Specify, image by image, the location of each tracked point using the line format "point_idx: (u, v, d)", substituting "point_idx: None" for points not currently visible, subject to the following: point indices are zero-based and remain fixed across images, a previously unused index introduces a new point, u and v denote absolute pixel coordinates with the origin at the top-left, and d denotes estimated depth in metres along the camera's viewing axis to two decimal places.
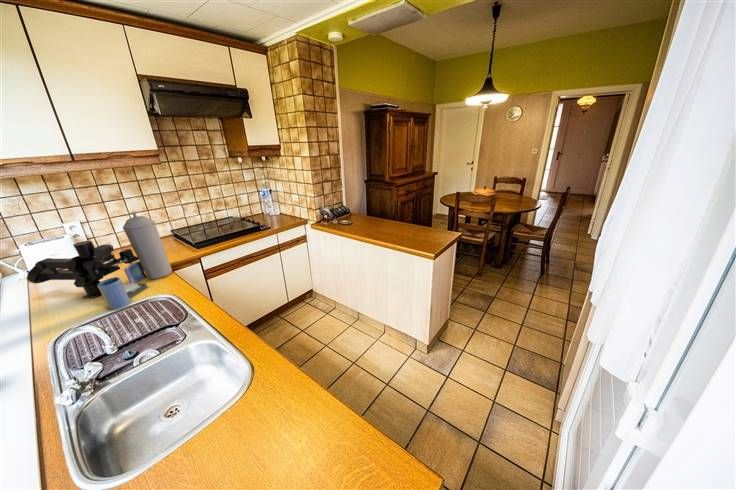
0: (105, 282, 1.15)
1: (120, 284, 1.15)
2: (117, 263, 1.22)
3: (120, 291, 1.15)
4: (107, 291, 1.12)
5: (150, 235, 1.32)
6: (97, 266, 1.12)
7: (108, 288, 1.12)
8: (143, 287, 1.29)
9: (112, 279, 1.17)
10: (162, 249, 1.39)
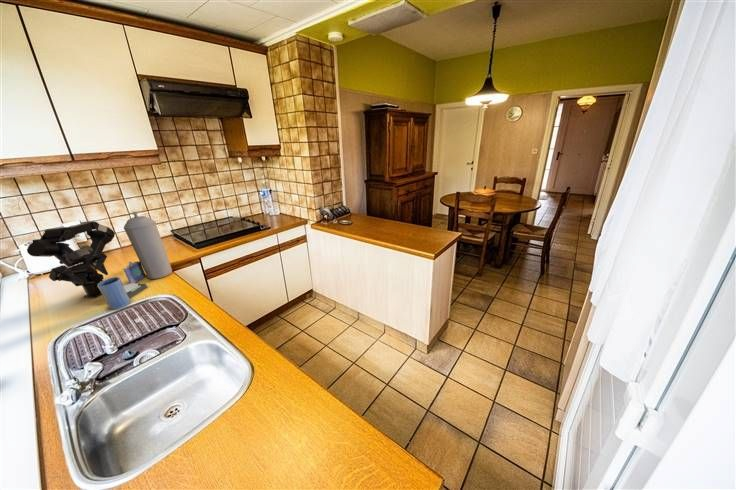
0: (105, 282, 1.15)
1: (120, 284, 1.15)
2: (83, 265, 1.17)
3: (120, 291, 1.15)
4: (107, 291, 1.12)
5: (151, 235, 1.32)
6: (63, 273, 1.07)
7: (108, 288, 1.12)
8: (143, 287, 1.29)
9: (112, 279, 1.17)
10: (162, 249, 1.39)
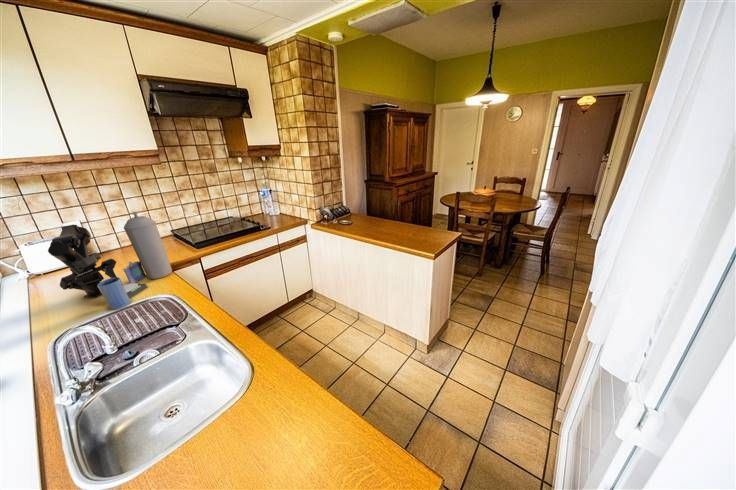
0: (105, 282, 1.15)
1: (120, 284, 1.15)
2: None
3: (120, 291, 1.15)
4: (107, 291, 1.12)
5: (151, 235, 1.32)
6: (73, 282, 1.07)
7: (108, 288, 1.12)
8: (143, 287, 1.29)
9: (112, 279, 1.17)
10: (162, 249, 1.39)
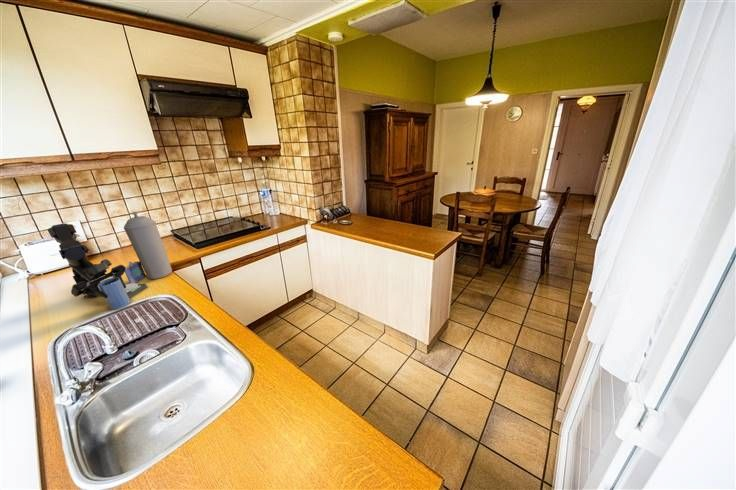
0: (105, 282, 1.15)
1: (120, 284, 1.15)
2: None
3: (120, 291, 1.15)
4: (107, 291, 1.12)
5: (151, 235, 1.32)
6: (87, 288, 1.08)
7: (108, 288, 1.12)
8: (143, 287, 1.29)
9: (112, 279, 1.17)
10: (162, 249, 1.39)
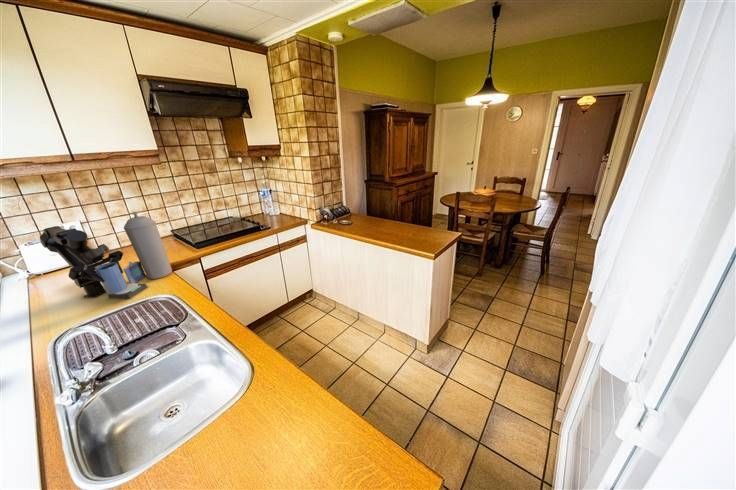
0: (102, 266, 1.16)
1: (117, 269, 1.16)
2: (99, 264, 1.17)
3: (117, 276, 1.16)
4: (104, 276, 1.13)
5: (151, 235, 1.32)
6: (84, 271, 1.09)
7: (105, 273, 1.13)
8: (143, 287, 1.29)
9: (109, 264, 1.18)
10: (162, 249, 1.39)
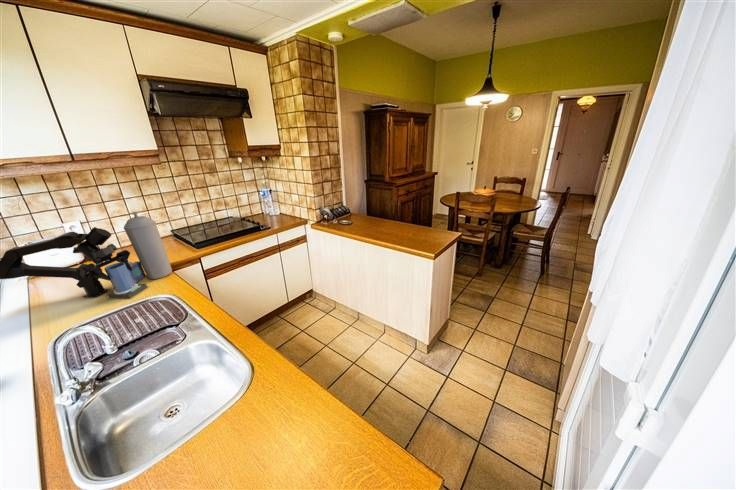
0: (111, 266, 1.23)
1: (125, 268, 1.24)
2: (110, 262, 1.25)
3: (125, 275, 1.23)
4: (113, 275, 1.20)
5: (151, 235, 1.32)
6: (92, 270, 1.15)
7: (114, 272, 1.20)
8: (143, 287, 1.29)
9: (118, 264, 1.25)
10: (162, 249, 1.39)
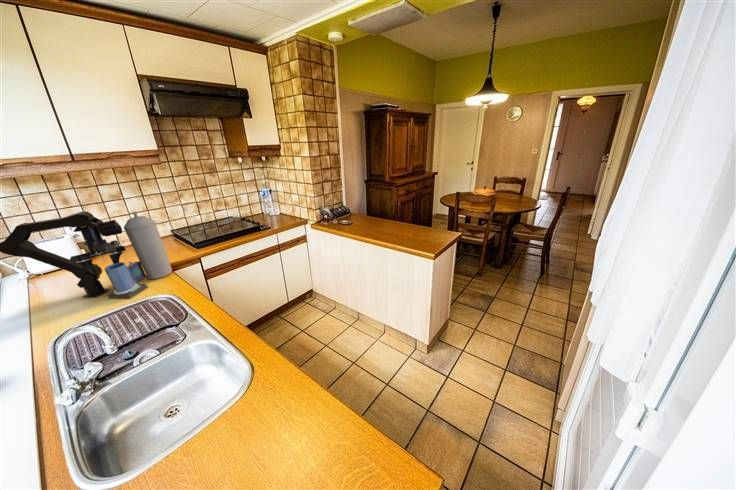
0: (111, 266, 1.23)
1: (125, 268, 1.24)
2: (102, 253, 1.24)
3: (125, 275, 1.23)
4: (113, 275, 1.20)
5: (151, 235, 1.32)
6: (85, 262, 1.15)
7: (114, 272, 1.20)
8: (143, 287, 1.29)
9: (118, 264, 1.25)
10: (162, 249, 1.39)
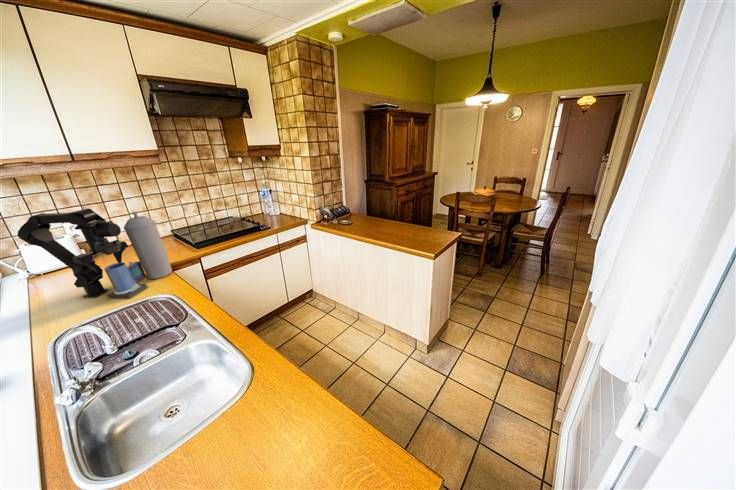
0: (111, 266, 1.23)
1: (125, 268, 1.24)
2: None
3: (125, 275, 1.23)
4: (113, 275, 1.20)
5: (151, 235, 1.32)
6: None
7: (114, 272, 1.20)
8: (143, 287, 1.29)
9: (118, 264, 1.25)
10: (162, 249, 1.39)
